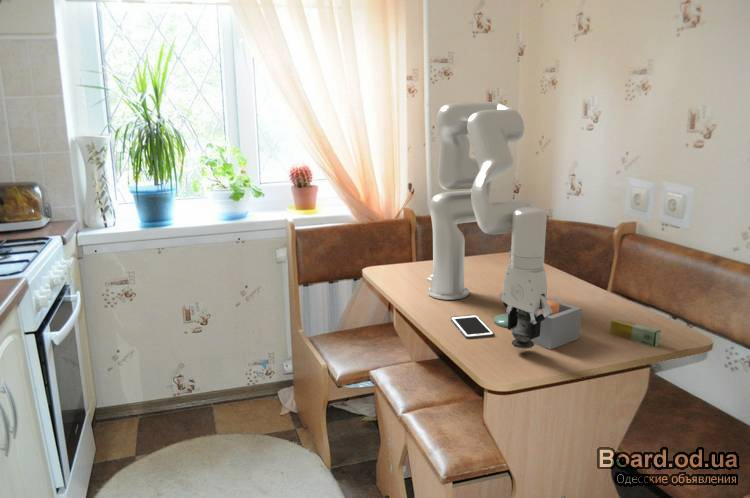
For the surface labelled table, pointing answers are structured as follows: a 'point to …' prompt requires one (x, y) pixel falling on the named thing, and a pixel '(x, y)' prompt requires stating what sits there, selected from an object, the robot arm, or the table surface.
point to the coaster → (501, 320)
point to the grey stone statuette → (522, 331)
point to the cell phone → (472, 327)
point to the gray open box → (559, 327)
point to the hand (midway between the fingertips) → (523, 332)
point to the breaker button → (553, 307)
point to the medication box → (635, 332)
